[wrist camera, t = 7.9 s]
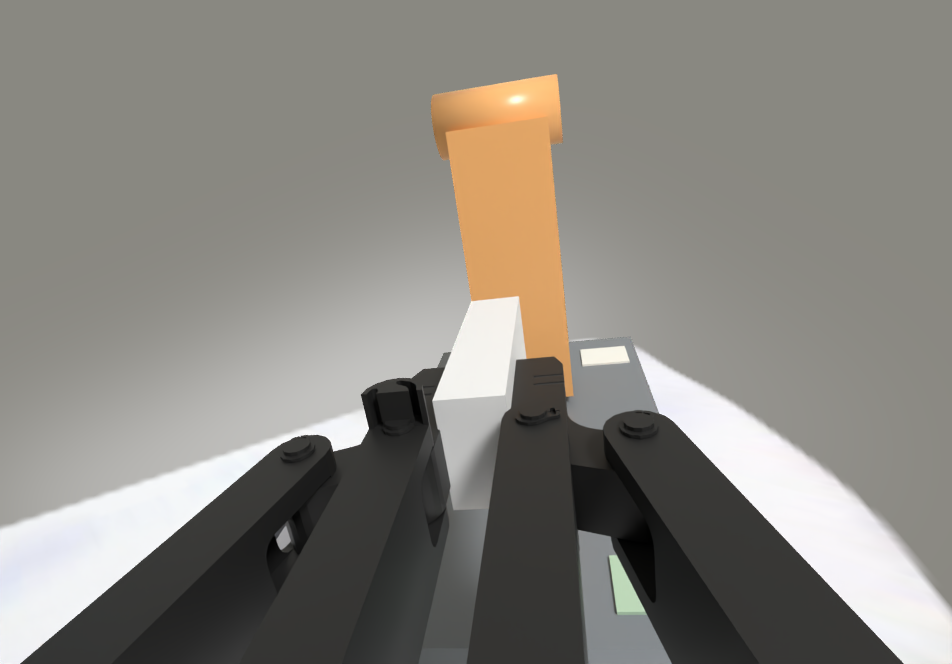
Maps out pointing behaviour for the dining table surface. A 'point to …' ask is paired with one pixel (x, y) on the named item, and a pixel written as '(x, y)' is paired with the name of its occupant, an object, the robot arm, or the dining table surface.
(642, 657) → the base
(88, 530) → the dining table surface
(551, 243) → the handle
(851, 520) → the dining table surface
